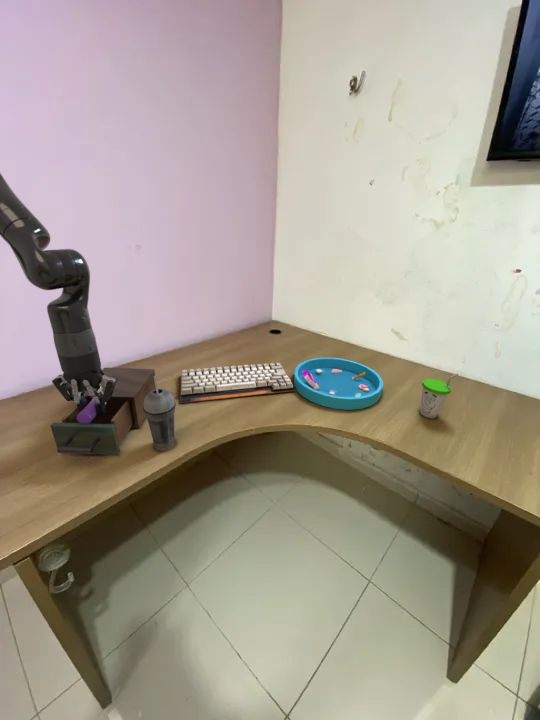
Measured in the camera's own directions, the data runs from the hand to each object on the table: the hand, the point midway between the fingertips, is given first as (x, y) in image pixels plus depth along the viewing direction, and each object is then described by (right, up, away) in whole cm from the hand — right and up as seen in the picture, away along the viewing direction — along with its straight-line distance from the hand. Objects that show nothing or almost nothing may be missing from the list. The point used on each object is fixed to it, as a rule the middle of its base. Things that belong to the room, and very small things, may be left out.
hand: (93, 414), depth 73 cm
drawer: (0, -7, +3) cm, 7 cm away
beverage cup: (+16, -8, +4) cm, 18 cm away
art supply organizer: (+65, +4, +35) cm, 74 cm away
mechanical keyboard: (+30, +5, +33) cm, 45 cm away
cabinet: (0, -2, +16) cm, 16 cm away
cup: (+90, -4, +21) cm, 93 cm away
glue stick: (+1, 0, 0) cm, 1 cm away
